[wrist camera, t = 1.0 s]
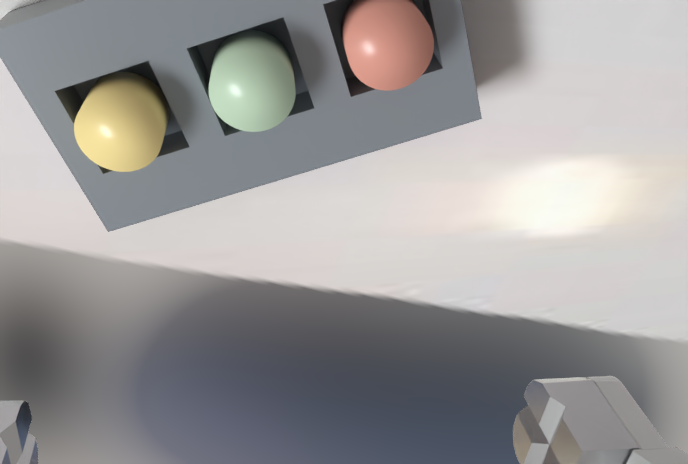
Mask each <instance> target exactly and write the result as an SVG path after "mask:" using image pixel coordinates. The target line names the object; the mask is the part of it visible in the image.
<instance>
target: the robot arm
mask: <svg viewBox="0 0 688 464" xmlns="http://www.w3.org/2000/svg"><path fill="white" fill-rule="evenodd" d="M524 397H525V399H526V401H527V403H528V405H527V406H526V407H525V408H524V409H523V410H521V411H520V412H519V413H518V414H517V416H516V420H515V423H514V426H513V444H514V448H515V452H516V456H517V458H518V460H519V462H520V464H688V454H687V453H685V452H684V451H682V450H680V449H679V448H677V447H668V446H667V445H666V443H665V442H664V440H663V439H662V438H661V436H660V435H659V434H658V432H657V431H656V429H655V428H654V427H653V425H652V424H651V422H650V421H649V420H648V418H647V417H646V416H645V414H644V413H643V411H642V410H641V409H640V407H639V406H638V405H637V403H636V402H635V401H634V399H633V398H632V396H631V395H630V394H629V392H628V391H627V389H626V388H625V387H624V385H623V384H622V383H621V382H620V381H619V380H618V379H617V378H615V377H614V376H601V377H600V376H599V377H586V378H583V377H579V378H559V379H540V380H533V381H532V382H531V383H530V384H529V385H528V386H527V389H526V391H525V394H524ZM31 421H32V415H31V410H30V406H29V402H26V401H0V464H38V448H37V442H36V438H34V437H33V436H32V435H31V434H29V433H28V431H29V428H30V424H31Z"/></svg>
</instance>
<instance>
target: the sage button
mask: <svg viewBox="0 0 688 464" xmlns="http://www.w3.org/2000/svg"><path fill="white" fill-rule="evenodd" d="M295 96H296V90H295V80H294V70H293V63H292V59H291V56H290V54H289V52H288V50H287V49H286V47H285V46H284V45H283V44H282V43H281V42H280V41H279V40H278V39H276V38H275V37H273V36H272V35H270V34H267V33H265V32H261V31H256V30H247V31H241V32H238V33H235V34H233V35H231V36H229V37H228V38H227V39H225V40H224V41H223V42H222V43H221V45H220V46H219V47H218V49H217V51H216V53H215V55H214V59H213V64H212V69H211V75H210V81H209V98H210V102H211V104H212V107H213V109H214V111H215V112H216V113H217V115H218V116H219V117H220V118H221V119H222V120H223V121H224V122H225V123H227V124H228V125H230V126H232V127H234V128H236V129H239V130H242V131H248V132H259V131H265V130H268V129H271V128H273V127H275V126H277V125H278V124H280V123H281V122H282V121H283V120H284V119H285V118H286V117H287V116H288V115H289V113H290V112H291V110H292V108H293V105H294V102H295Z"/></svg>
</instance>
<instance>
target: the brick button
mask: <svg viewBox="0 0 688 464" xmlns="http://www.w3.org/2000/svg"><path fill="white" fill-rule="evenodd" d="M341 37H342V41H343V45H344V48H345V52H346V55H347V58H348V62H349V64H350V67H351V69H352V71H353V73H354V74H355V75H356V77H357V78H358V79H359V80H360V81H361V82H363V83H364V84H366V85H367V86H369V87H371V88H374V89H378V90H384V91H390V90H397V89H401V88H404V87H406V86H408V85H410V84H412V83H413V82H415V81H416V80H417V79H418V78H419V77H420V76H421V75H422V74H423V73H424V72H425V70H426V69H427V67H428V66H429V64H430V61H431V59H432V55H433V50H434V38H433V33H432V30H431V28H430V26H429V24H428V22H427V21H426V19H425V18H424V16H423V15H422V13H421V12H420V10H419V9H418V7H417V6H416V4H415V3H414V2H413V0H354V1H353V2H352V3H351V4H350V5H349V7H348V8H347V10H346V12H345V14H344V17H343V20H342V25H341Z"/></svg>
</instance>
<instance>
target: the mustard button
mask: <svg viewBox="0 0 688 464" xmlns="http://www.w3.org/2000/svg"><path fill="white" fill-rule="evenodd" d="M168 120H169V106H168V102H167V100H166V98H165V96H164V94H163V93H162V91H161V90H160V89H159V88H158V86H157V85H155V84H154V83H153V82H152V81H150V80H149V79H147V78H145V77H143V76H141V75H139V74H135V73H131V72H115V73H111V74H108V75H105V76H104V77H102V78H100V79H99V80H98V81H97V82H96V83H95V84H94V85H93V87H92V88H91V90H90V92H89V93H88V95H87V97H86V99H85V101H84V103H83V104H82V106H81V108H80V110H79V112H78V114H77V116H76V118H75V122H74V134H75V138H76V141H77V143H78V145H79V147H80V149H81V150H82V152H83V153H84V154H85V155H86V156H87V157H88V158H89V159H90V160H91V161H93V162H94V163H96V164H97V165H99V166H101V167H103V168H106V169H109V170H113V171H118V172H130V171H136V170H139V169H142V168H144V167H146V166H147V165H149V164H150V163H151V162H152V161H154V160H155V158H156V157H157V156H158V154H159V152H160V149H161V146H162V143H163V139H164V135H165V132H166V128H167V124H168Z"/></svg>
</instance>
